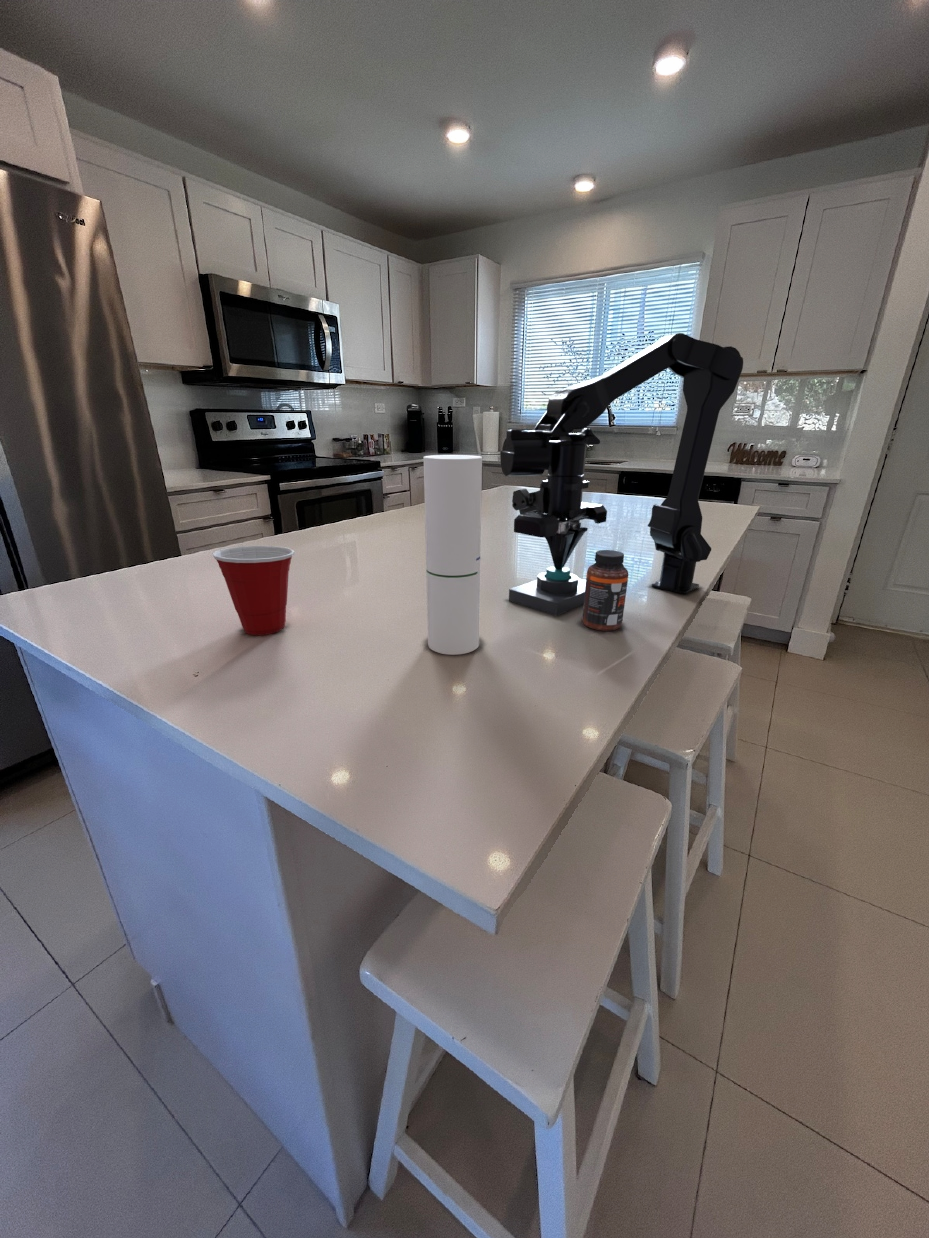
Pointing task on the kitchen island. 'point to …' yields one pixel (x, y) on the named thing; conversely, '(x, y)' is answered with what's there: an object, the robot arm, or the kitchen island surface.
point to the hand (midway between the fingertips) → (558, 568)
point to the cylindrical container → (453, 551)
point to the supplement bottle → (605, 591)
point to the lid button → (558, 573)
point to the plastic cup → (257, 585)
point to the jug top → (550, 594)
